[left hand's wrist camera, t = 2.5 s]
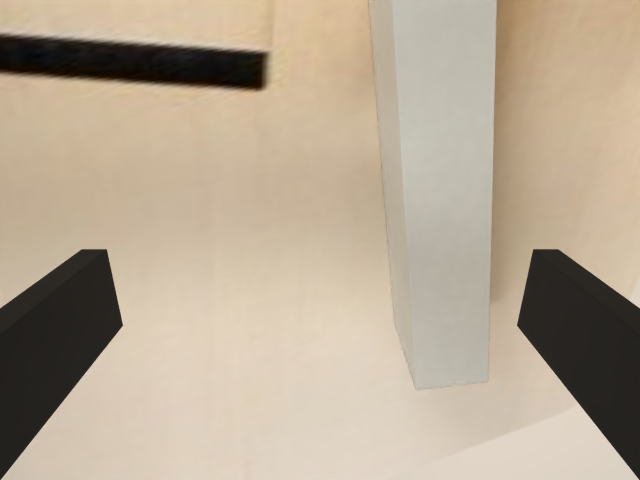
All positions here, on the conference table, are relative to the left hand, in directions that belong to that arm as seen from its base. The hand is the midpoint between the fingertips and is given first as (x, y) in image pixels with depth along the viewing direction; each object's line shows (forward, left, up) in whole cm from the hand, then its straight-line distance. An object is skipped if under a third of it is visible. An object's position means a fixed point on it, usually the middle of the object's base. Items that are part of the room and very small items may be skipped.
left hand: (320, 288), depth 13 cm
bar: (+19, +11, -19) cm, 29 cm away
